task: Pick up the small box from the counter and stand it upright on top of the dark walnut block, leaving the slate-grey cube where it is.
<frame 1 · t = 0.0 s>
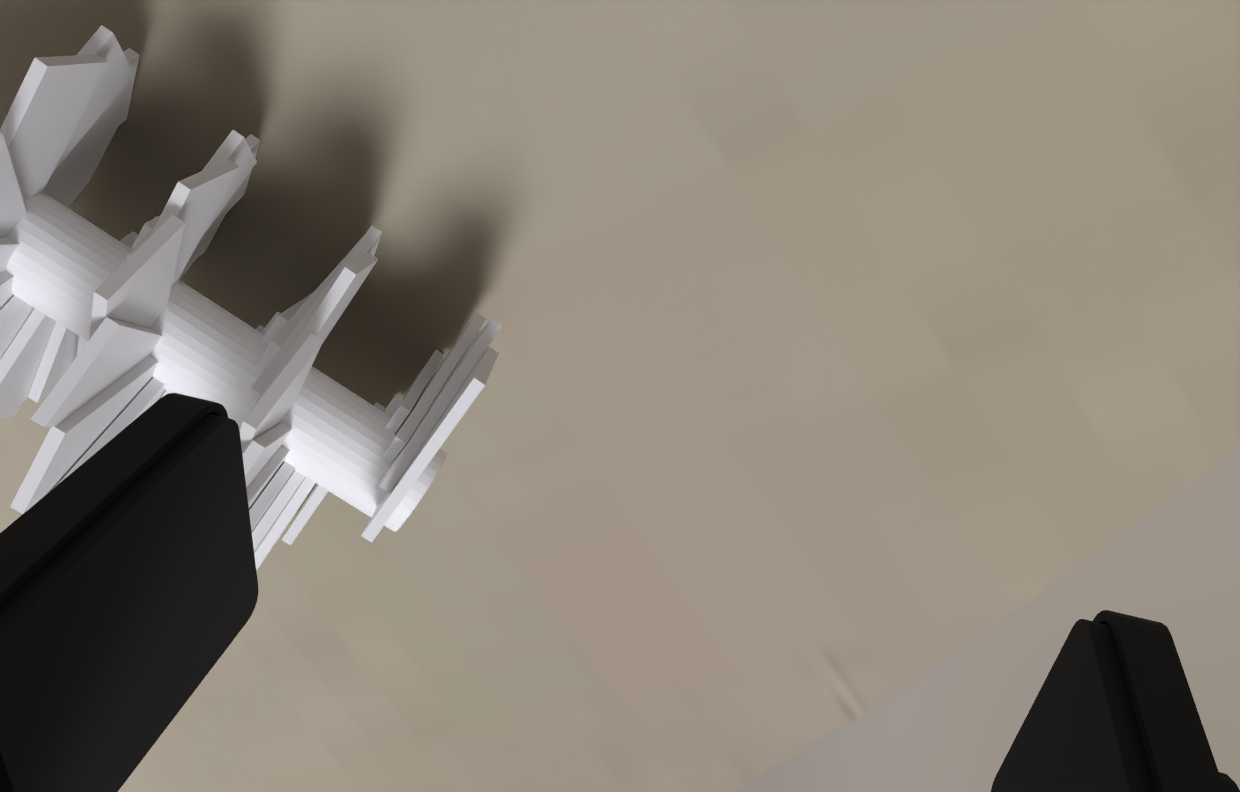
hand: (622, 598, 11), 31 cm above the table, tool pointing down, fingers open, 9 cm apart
spiral staircase: (270, 249, 48), on the table
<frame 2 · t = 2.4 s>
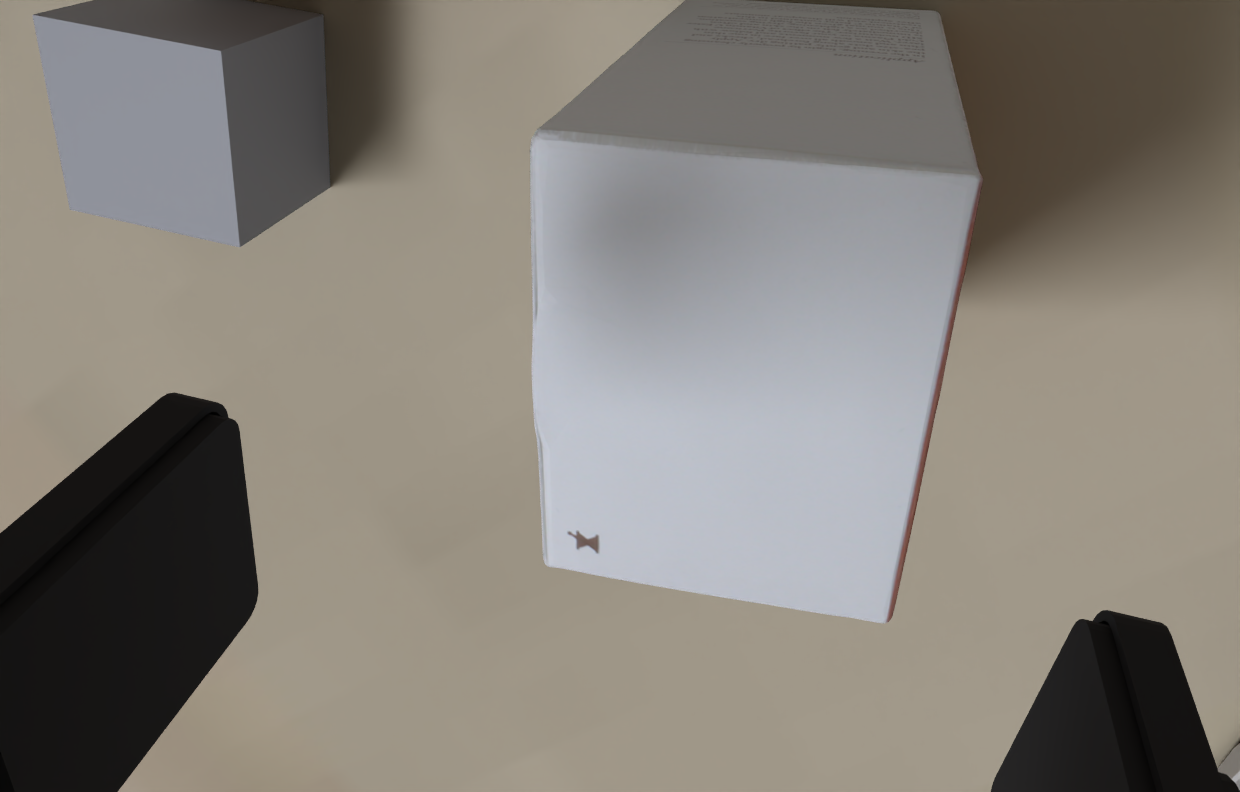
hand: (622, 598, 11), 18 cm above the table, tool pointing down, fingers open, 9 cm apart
slate-grey cube: (249, 88, 29), on the table
small box: (796, 157, 26), on the table
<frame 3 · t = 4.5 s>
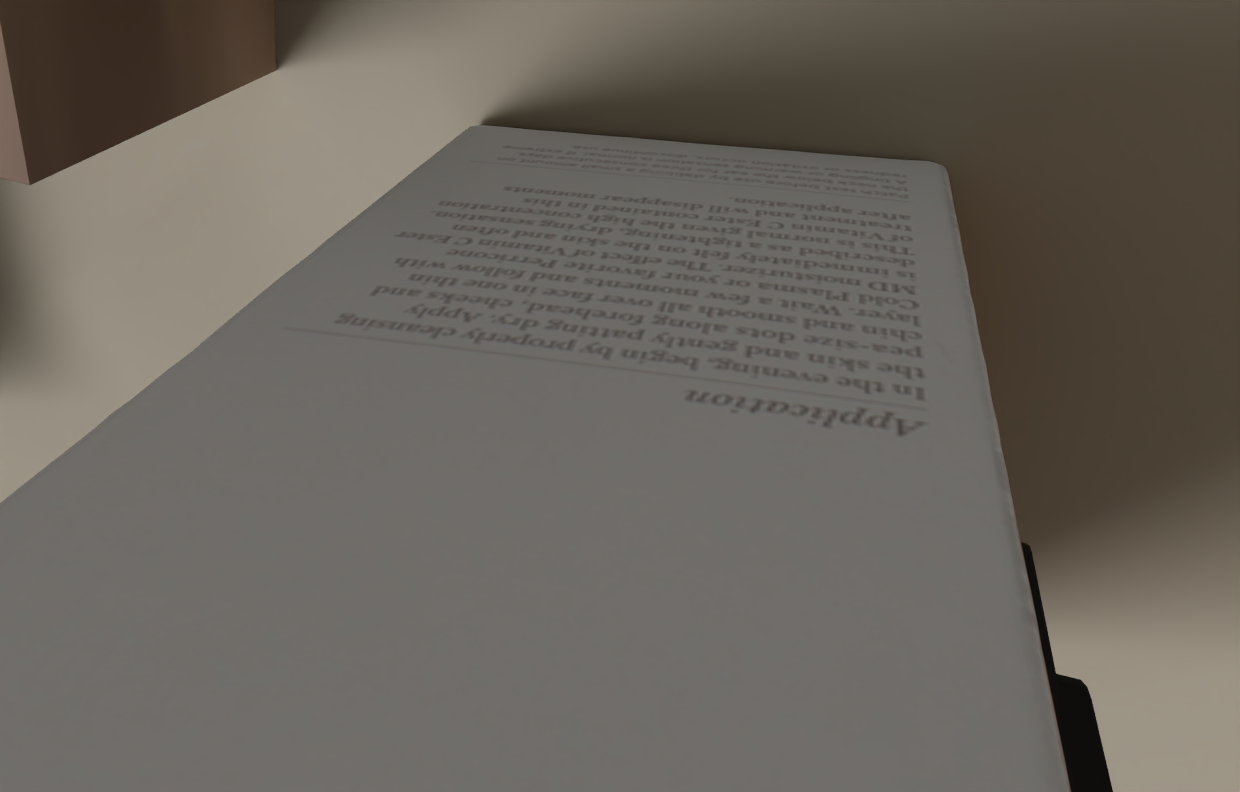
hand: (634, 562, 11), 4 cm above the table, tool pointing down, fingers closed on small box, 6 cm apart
small box: (690, 392, 15), on the table, touching gripper
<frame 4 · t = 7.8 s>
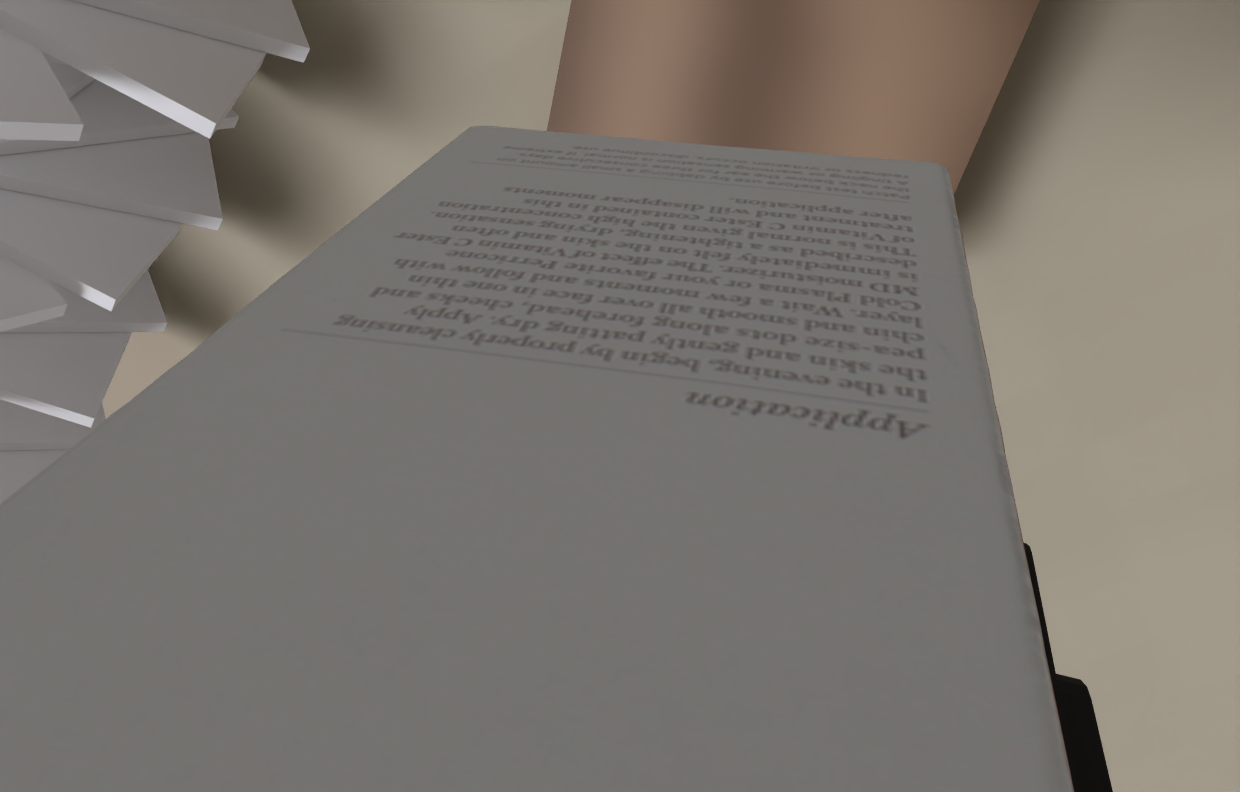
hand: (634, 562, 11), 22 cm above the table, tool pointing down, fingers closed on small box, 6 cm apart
small box: (691, 393, 15), point 18 cm above the table, touching gripper
spiral staircase: (101, 34, 34), on the table
walnut block: (783, 47, 30), on the table
when the fingers open (10 cm above the table, at t = 11.0 s): small box drops 2 cm, point 4 cm above the table.
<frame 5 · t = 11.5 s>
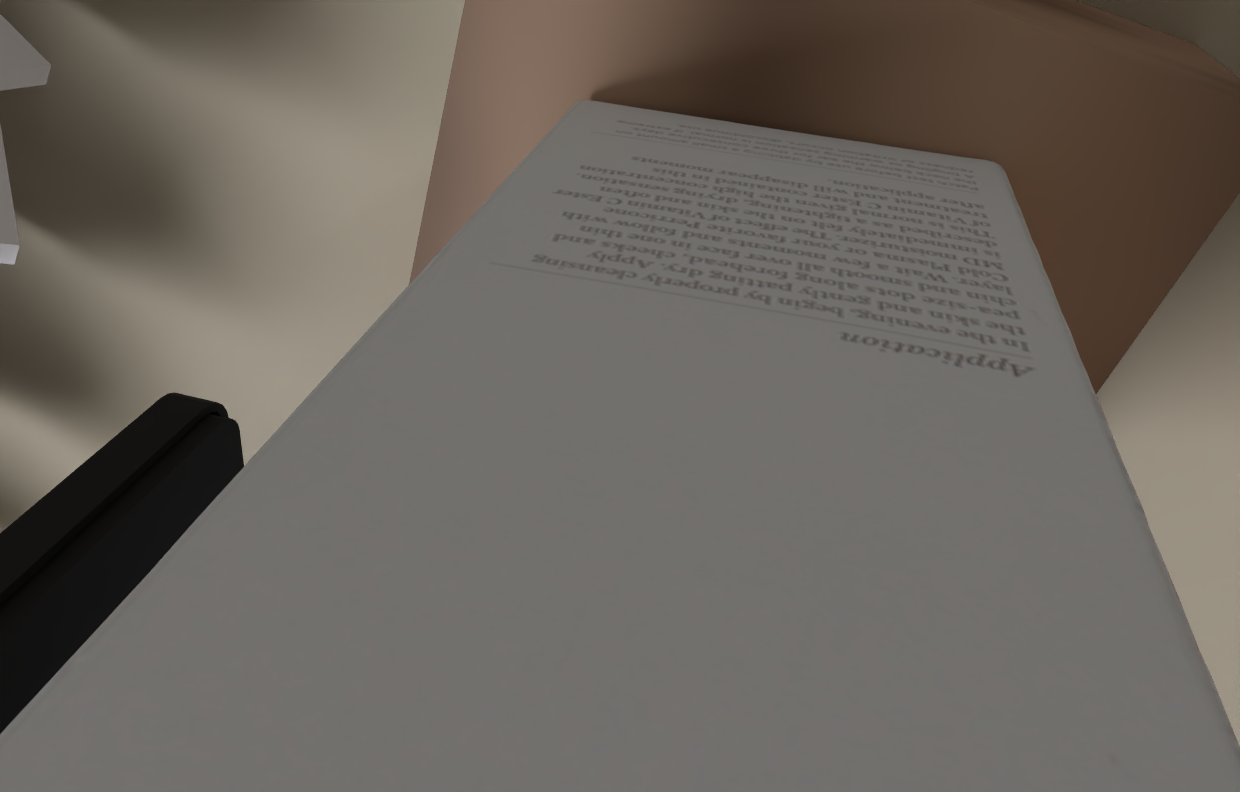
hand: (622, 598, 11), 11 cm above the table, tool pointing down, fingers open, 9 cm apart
small box: (747, 354, 16), point 4 cm above the table
walnut block: (770, 209, 20), on the table
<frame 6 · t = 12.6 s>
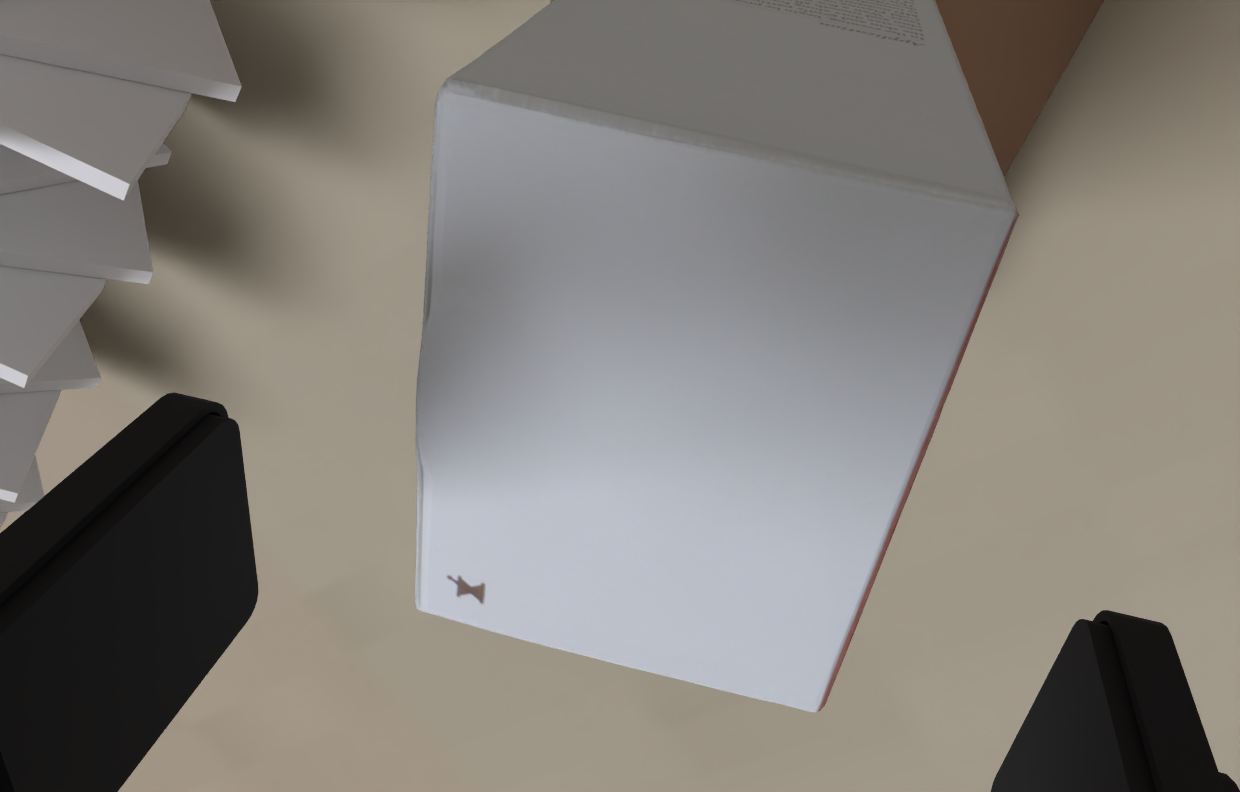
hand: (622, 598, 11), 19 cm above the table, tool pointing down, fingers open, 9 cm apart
small box: (750, 133, 23), point 4 cm above the table
spiral staircase: (19, 59, 31), on the table
walnut block: (777, 70, 27), on the table
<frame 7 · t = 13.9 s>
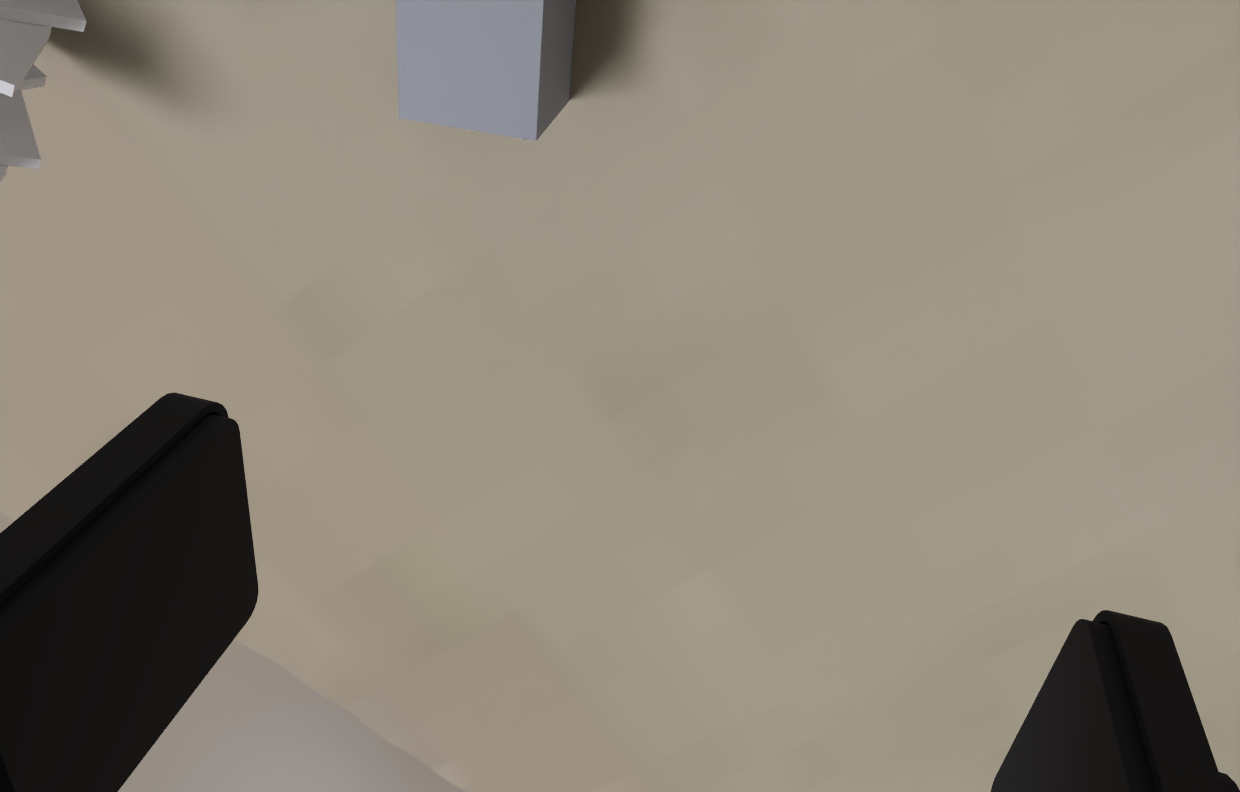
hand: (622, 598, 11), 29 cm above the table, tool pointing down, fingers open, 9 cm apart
slate-grey cube: (510, 23, 37), on the table
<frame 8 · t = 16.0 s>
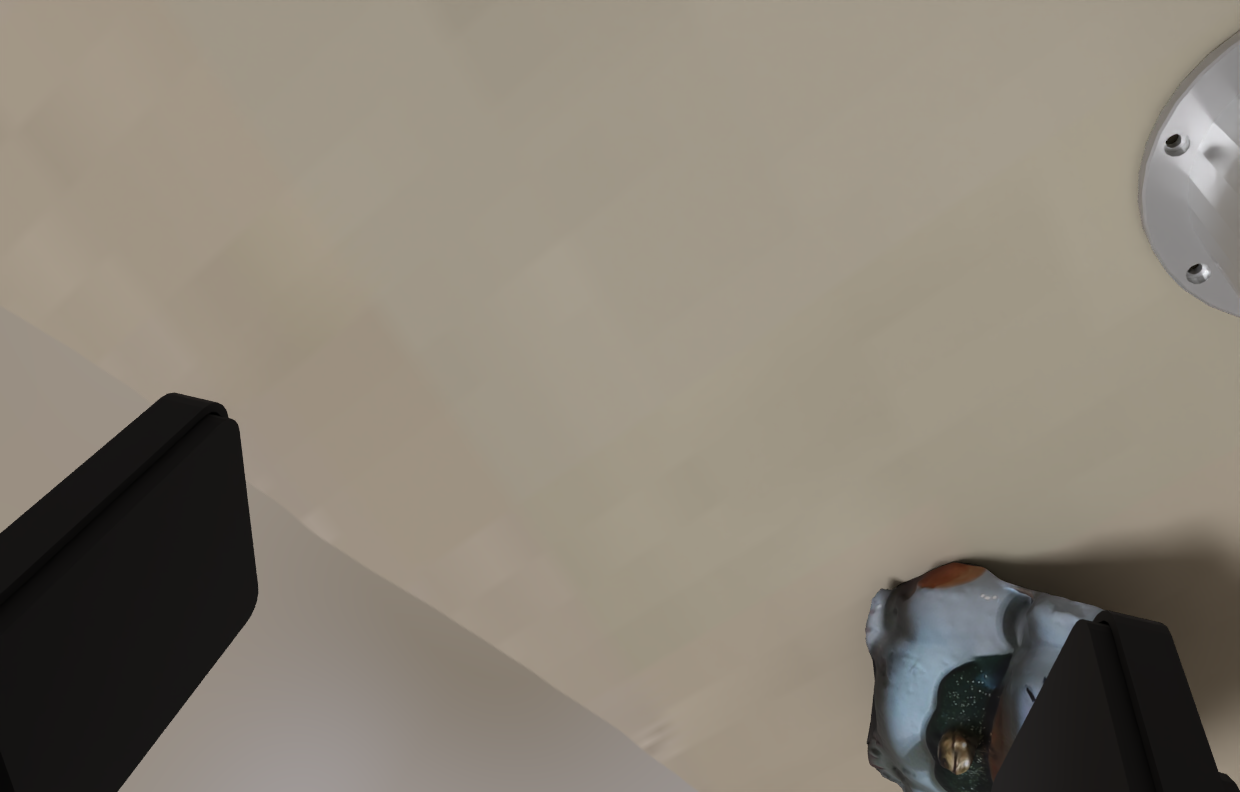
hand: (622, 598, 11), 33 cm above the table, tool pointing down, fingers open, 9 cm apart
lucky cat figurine: (999, 636, 53), on the table
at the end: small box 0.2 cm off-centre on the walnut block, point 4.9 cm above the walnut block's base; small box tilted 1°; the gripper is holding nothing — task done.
